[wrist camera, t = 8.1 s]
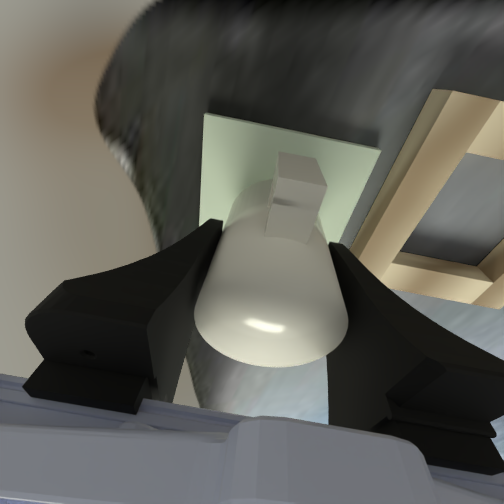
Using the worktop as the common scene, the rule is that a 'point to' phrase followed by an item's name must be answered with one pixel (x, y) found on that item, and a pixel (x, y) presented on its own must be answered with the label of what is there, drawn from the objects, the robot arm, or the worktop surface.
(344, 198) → the sage board
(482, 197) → the worktop surface
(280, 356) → the jug
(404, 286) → the collar
